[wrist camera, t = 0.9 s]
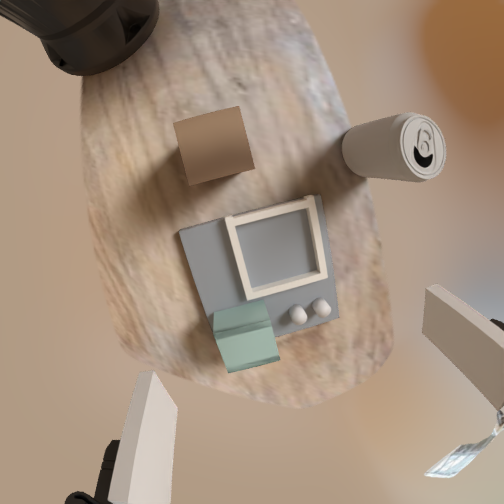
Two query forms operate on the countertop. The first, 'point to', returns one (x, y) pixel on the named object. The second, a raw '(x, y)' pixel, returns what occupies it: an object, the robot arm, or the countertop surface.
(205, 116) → the block
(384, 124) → the beverage can
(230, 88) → the countertop surface
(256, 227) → the jig board
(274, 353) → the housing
